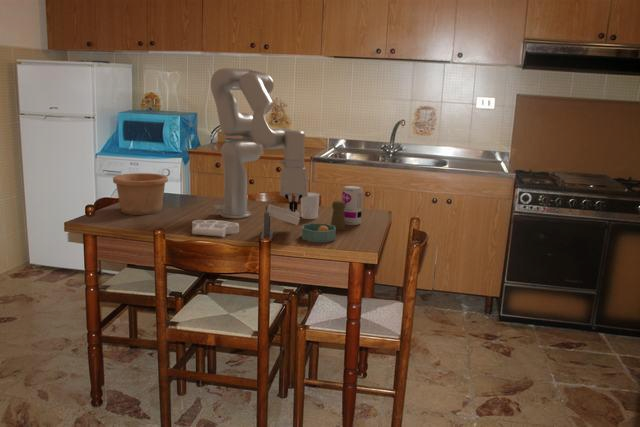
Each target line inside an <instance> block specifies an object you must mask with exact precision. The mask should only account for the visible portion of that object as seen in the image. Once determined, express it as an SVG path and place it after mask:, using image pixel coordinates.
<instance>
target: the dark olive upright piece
mask: <svg viewBox="0 0 640 427" xmlns="http://www.w3.org/2000/svg"><path fill="white" fill-rule="evenodd" d="M331 206H332V209H333V210H332V217H331V222H330V225H333V226H335V227H336V231H344V230H346V224H345V218H344V209H345V202H343V201H342V200H334V201H332V204H331Z"/></svg>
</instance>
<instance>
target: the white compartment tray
mask: <svg viewBox="0 0 640 427" xmlns="http://www.w3.org/2000/svg"><path fill="white" fill-rule="evenodd" d="M191 223H192V224H191V228H192V230H191V234H192V235H194V236H195V235H198V236H208V237H220V238H224V237H225V236H226V234H227V235H235V233H236V234H239V233H240V232H239V231H240V224H239V223H238V222H230V221H227V220H219V219H218V220H216V219H207V220H205V219H197V220H192V222H191ZM238 232H239V233H238Z"/></svg>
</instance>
